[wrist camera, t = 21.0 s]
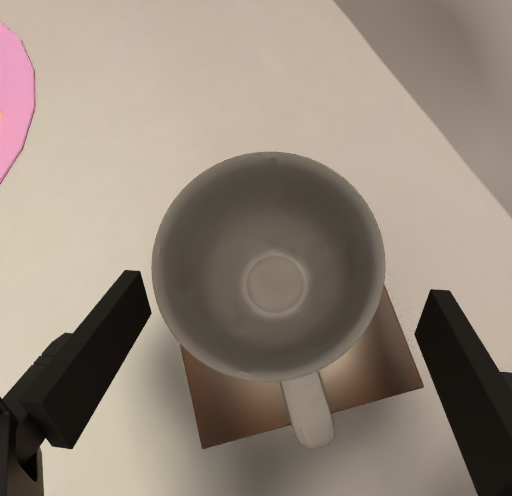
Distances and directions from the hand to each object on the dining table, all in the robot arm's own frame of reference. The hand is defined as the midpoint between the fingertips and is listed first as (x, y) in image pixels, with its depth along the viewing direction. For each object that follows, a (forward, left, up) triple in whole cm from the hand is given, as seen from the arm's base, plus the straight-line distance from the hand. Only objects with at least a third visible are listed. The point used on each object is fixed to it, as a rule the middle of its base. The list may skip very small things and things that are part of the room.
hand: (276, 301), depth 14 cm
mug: (0, 0, -6) cm, 6 cm away
